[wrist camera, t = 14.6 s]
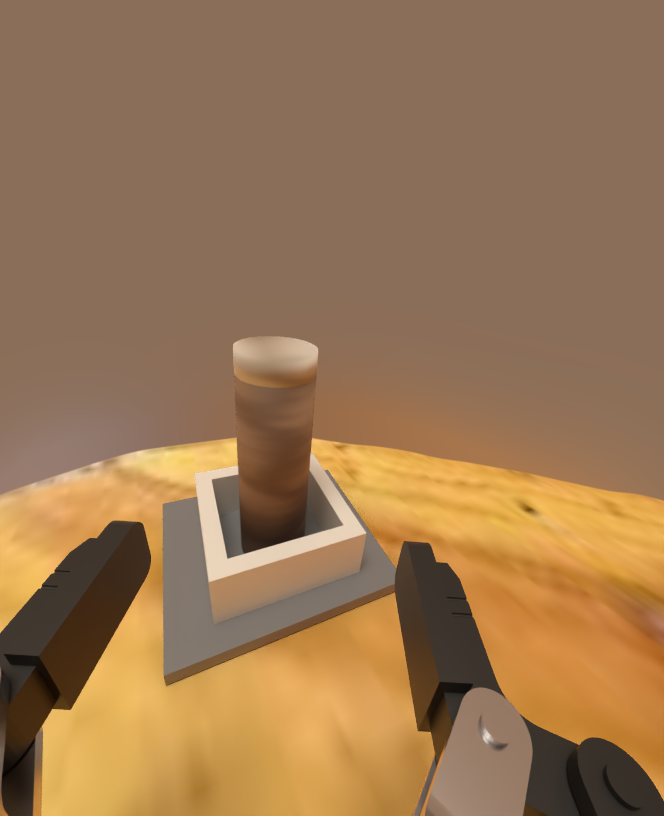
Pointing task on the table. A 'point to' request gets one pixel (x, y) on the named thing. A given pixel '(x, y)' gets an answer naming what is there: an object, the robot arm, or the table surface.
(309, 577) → the post well
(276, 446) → the walnut post
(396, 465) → the table surface
